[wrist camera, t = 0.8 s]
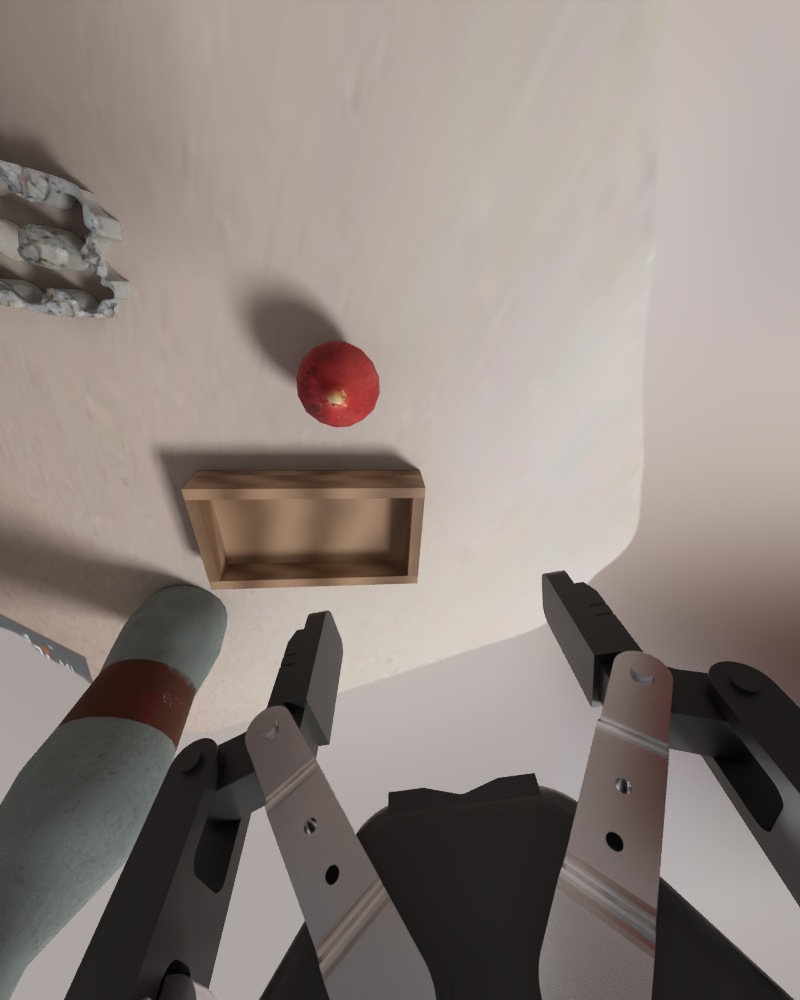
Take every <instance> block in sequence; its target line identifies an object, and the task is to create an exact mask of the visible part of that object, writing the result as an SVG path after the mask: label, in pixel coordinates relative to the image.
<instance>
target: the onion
mask: <svg viewBox="0 0 800 1000" xmlns="http://www.w3.org/2000/svg"><path fill="white" fill-rule="evenodd" d="M296 379H297V390H298V397H299V398H300V400H301V402H302V404H303V406H304V408H305V410H306V412H307V413H309V414H310V415H311V416H313V417H314V418H315V419H317V420H318V421H319V422H321V423H324V424H327V425H330V426H334V427H347V426H351V425H353V424H355V423H357V422H359V421H361V420H363V419H364V418H365V417H366V416H367V415H368V414H369V413H371V412H372V411H373V410H374V407H375V404H376V402H377V399H378V396H379V393H380V392H379V377H378V374H377V372H376V369H375V367H374V365H373V362H372V361H371V360H370V359H369V358H368V357H367V356H366V354H365V353H364V352H363V351H362V350H361V349H359V348H357V347H355V346H353V345H351V344H349V343H347V342H326V343H324V344H322V345H320V346H317V347H315V348H313V349H312V350H311V351H310V352H309V353H308V354H307V355H306V356H305V357H304V358H303V359H302V362H301V365H300V368H299V371H298V373H297V378H296Z"/></svg>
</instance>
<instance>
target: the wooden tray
mask: <svg viewBox="0 0 800 1000" xmlns="http://www.w3.org/2000/svg"><path fill="white" fill-rule="evenodd" d="M181 491H182V495H183V498H184V501H185V504H186V508H187V511H188V514H189V518H190V521H191V524H192V527H193V531H194V534H195V537H196V540H197V544H198V547H199V550H200V554H201V557H202V560H203V563H204V567H205V570H206V573H207V576H208V580H209V583H210V586H211V590H212V589H245V588H277V587H309V586H342V585H374V584H406V583H417V579H418V567H419V555H420V544H421V532H422V521H423V509H424V498H425V485H424V482H423V479H422V476H421V472H420V470H252V471H197V472H196V473H195V475H194V476H193V477H192V478H191V479H190V480H189V481H188V482H187V483H186V484H185V485H184V487H183V488H182V489H181Z"/></svg>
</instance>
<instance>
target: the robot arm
mask: <svg viewBox="0 0 800 1000" xmlns="http://www.w3.org/2000/svg"><path fill="white" fill-rule="evenodd" d="M542 594H543V609H544V613H545V617H546V619H547V622H548V624H549V626H550V628H551V630H552V632H553V633H554V636H555V637H556V639H557V641H558V643H559V645H560V647H561V649H562V651H563V653H564V655H565V657H566V659H567V661H568V663H569V664H570V666H571V669H572V670H573V672H574V674H575V676H576V678H577V680H578V682H579V684H580V686H581V688H582V690H583V692H584V694H585V696H586V698H587V700H588V701H589V703H590V705H591V707H598V706H603V709H602V713H601V717H600V719H598V722H597V726H596V729H595V733H594V737H593V742H592V746H591V750H590V754H589V758H588V763H587V767H586V771H585V775H584V779H583V784H582V788H581V792H580V797H579V800H578V802H577V801H576V800H574V799H572V798H571V797H569V796H567V795H565V794H563V793H561V792H559V791H557V790H554V789H551V788H548V787H544V786H538V783H537V780H536V777H535V774H534V773H532V774H525V775H517V776H509V777H502V778H497V779H495V780H493V781H490V782H488V783H486V784H484V785H482V786H480V787H478V788H476V789H474V790H471V791H469V792H467V793H465V794H455V793H449V792H444V791H438V790H432V789H427V788H419V789H412V790H404V791H397V792H389V803H388V806H386V807H384V808H383V809H381V810H380V811H378V812H377V813H375V814H374V815H373V816H372V817H370V819H368V820H367V822H366V823H364V825H363V826H362V827H361V828H360V829H359V831H358V832H357V833H356V832H355V830H354V829H353V826H352V825H351V823H350V821H349V819H348V817H347V816H346V814H345V812H344V810H343V808H342V806H341V805H340V803H339V801H338V799H337V797H336V795H335V794H334V792H333V790H332V788H331V786H330V784H329V783H328V781H327V779H326V777H325V775H324V773H323V772H322V770H321V768H320V766H319V764H318V762H317V760H316V755H317V750H318V746H321V745H329V743H330V736H331V729H332V723H333V716H334V710H335V703H336V696H337V690H338V683H339V676H340V670H341V663H342V656H343V646H342V640H341V637H340V635H339V632H338V630H337V627H336V624H335V622H334V619H333V617H332V614H331V612H330V611H324V612H318V613H312V614H309V615H308V618H307V621H306V624H305V628H304V629H302V630H297V631H296V632H295V634H294V635H293V636H292V638H291V639H290V640H289V642H288V644H287V647H286V651H285V654H284V657H283V660H282V663H281V668H280V669H279V672H278V675H277V678H276V681H275V684H274V687H273V690H272V693H271V697H270V700H269V703H268V706H267V708H266V709H265V710H264V711H262V712H261V713H260V714H258V715H257V716H256V717H255V718H254V720H253V721H252V722H251V724H250V725H249V727H248V729H247V731H246V732H245V733H243V734H241V735H239V736H237V737H235V738H233V739H231V740H229V741H227V742H224V743H222V744H220V745H217V744H216V743H215V742H214V741H213V740H212V739H209V738H204V739H199V740H197V741H195V742H193V743H191V744H190V745H188V746H187V747H186V748H184V749H183V750H182V751H181V752H180V753H179V754H178V755H177V757H176V758H175V759H174V761H173V762H172V764H171V766H170V767H169V770H168V772H167V774H166V776H165V778H164V781H163V783H162V785H161V787H160V789H159V792H158V794H157V796H156V798H155V800H154V803H153V805H152V807H151V809H150V811H149V814H148V816H147V818H146V820H145V822H144V825H143V827H142V829H141V831H140V833H139V836H138V838H137V840H136V842H135V845H134V847H133V849H132V851H131V853H130V856H129V858H128V860H127V862H126V864H125V867H124V869H123V871H122V873H121V875H120V878H119V880H118V882H117V884H116V887H115V889H114V891H113V893H112V895H111V897H110V900H109V902H108V904H107V906H106V908H105V911H104V913H103V915H102V917H101V920H100V922H99V924H98V926H97V928H96V931H95V933H94V935H93V937H92V940H91V942H90V944H89V946H88V948H87V950H86V953H85V955H84V957H83V959H82V962H81V964H80V966H79V968H78V970H77V972H76V975H75V977H74V979H73V981H72V983H71V986H70V988H69V990H68V993H67V994H66V997H65V999H64V1000H216V997H215V995H214V994H213V993H212V991H210V990H209V985H210V981H211V977H212V973H213V968H214V964H215V960H216V956H217V952H218V948H219V944H220V940H221V935H222V931H223V927H224V923H225V919H226V915H227V911H228V907H229V902H230V898H231V894H232V890H233V886H234V882H235V877H236V874H237V870H238V865H239V861H240V856H241V853H242V849H243V845H244V841H245V836H246V832H247V828H248V824H249V820H250V815H251V813H252V812H253V811H255V810H257V809H259V808H261V807H263V806H265V809H266V812H267V816H268V819H269V821H270V824H271V827H272V830H273V832H274V835H275V838H276V841H277V844H278V846H279V849H280V852H281V855H282V858H283V860H284V863H285V866H286V869H287V871H288V874H289V877H290V880H291V883H292V885H293V888H294V891H295V894H296V896H297V899H298V902H299V905H300V908H301V910H302V913H303V916H304V919H305V922H304V923H303V925H302V927H301V929H300V930H299V932H298V934H297V935H296V937H295V939H294V941H293V942H292V944H291V946H290V947H289V949H288V951H287V953H286V954H285V956H284V958H283V960H282V961H281V963H280V965H279V966H278V968H277V970H276V971H275V973H274V975H273V977H272V979H271V980H270V982H269V984H268V985H267V987H266V989H265V990H264V992H263V994H262V996H261V997H260V999H259V1000H794V999H793V998H792V997H791V996H790V995H789V994H787V993H786V992H785V991H784V990H783V989H782V988H781V987H780V986H779V985H778V984H777V983H776V982H774V981H773V980H772V979H771V978H770V977H769V976H768V975H767V974H766V973H765V972H763V970H761V969H760V968H759V967H758V966H757V965H756V964H755V963H754V962H753V961H752V960H751V959H749V958H748V957H747V956H746V955H745V954H744V953H743V952H742V951H741V950H740V949H739V948H738V947H736V946H735V945H734V944H733V943H732V942H731V941H730V940H729V939H728V938H726V936H724V935H723V934H722V933H721V932H720V931H719V930H718V929H717V928H716V927H715V926H714V925H713V924H711V923H710V922H709V921H708V920H707V919H706V918H705V917H704V916H703V915H702V914H700V913H699V912H698V911H697V910H696V909H695V908H694V907H693V906H692V905H691V904H690V903H689V902H687V901H686V900H685V899H684V898H683V897H682V896H681V895H680V894H679V893H678V892H677V891H676V890H674V889H673V888H672V887H671V886H670V885H669V884H668V883H667V882H666V881H664V880H663V878H661V877H660V865H661V852H662V839H663V827H664V814H665V801H666V789H667V777H668V764H669V749H675V750H679V751H685V752H690V753H696V754H700V755H701V756H702V757H703V759H704V760H705V762H706V763H707V765H708V766H709V768H710V769H711V770H712V773H713V774H714V776H715V777H716V779H717V780H718V782H719V783H720V785H721V786H722V788H723V789H724V791H725V793H726V794H727V796H728V797H729V799H730V800H731V802H732V803H733V805H734V806H735V808H736V810H737V811H738V813H739V814H740V816H741V817H742V819H743V820H744V822H745V823H746V825H747V826H748V828H749V830H750V831H751V833H752V834H753V836H754V837H755V839H756V840H757V842H758V843H759V845H760V846H761V848H762V850H763V851H764V853H765V854H766V856H767V857H768V859H769V860H770V862H771V863H772V865H773V866H774V868H775V870H776V871H777V872H778V874H779V876H780V877H781V879H782V880H783V882H784V883H785V885H786V886H787V888H788V890H789V891H790V892H791V894H792V896H793V897H794V899H795V900H796V902H797V903H798V905H799V907H800V708H799V707H798V706H797V705H796V704H795V703H794V702H793V701H792V700H791V699H790V698H789V697H788V696H787V695H786V694H785V693H784V692H783V691H782V690H781V689H780V687H778V685H777V684H776V683H774V681H772V680H771V679H770V678H769V677H768V676H766V675H765V674H763V673H762V672H760V671H759V670H757V669H754V668H753V667H750V666H748V665H745V664H741V663H736V662H729V661H727V662H719V663H716V664H714V665H713V666H711V668H710V669H709V672H708V673H701V672H693V671H686V670H678V669H673V668H670V667H667V666H666V665H665V664H664V663H663V662H661V661H660V660H659V659H657V658H656V657H654V656H652V655H649V654H647V653H644V652H643V651H642V650H641V649H640V647H639V646H638V645H637V643H636V642H635V641H634V639H633V638H632V637H631V635H630V634H629V633H628V631H627V630H626V629H625V628H624V626H623V625H622V624H621V622H620V621H619V620H618V618H617V617H616V616H615V614H613V612H612V611H611V609H610V608H609V606H608V605H606V603H605V601H604V600H603V599H602V597H601V596H600V595H599V593H598V592H597V591H596V590H595V589H593V588H591V587H590V586H588V585H587V584H585V583H584V582H581V583H575V584H574V583H573V581H572V580H571V578H570V577H569V576H568V574H567V573H566V572H565V571H557V572H551V573H546V574H543V575H542ZM668 748H669V749H668Z"/></svg>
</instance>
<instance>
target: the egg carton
mask: <svg viewBox="0 0 800 1000" xmlns="http://www.w3.org/2000/svg"><path fill="white" fill-rule="evenodd" d="M10 193H13V194H15V195H18V196H20V197H23V198H24V199H26V200H27V201H29V202H30V203H39V204H43V205H47V206H51V207H55V208H59V209H64V210H65V209H70V208H71V207H73V205H74V204H75V201H76V199H77V200H78V201H79V202H80V204H81V205H82V212H83V222H84V224H85V226H86V227H87V228H88V229H89V230H90V231H91V233H87V234H85V238H86V244H84V243H83V241H82V240H81V239H80V238H79V237H78V236H77V235H75V234H74V233H72V232H70V231H67V230H64V229H59V228H55V227H50V226H46V225H41V224H36V225H34V224H28V223H27V224H26V225H25V226H24V227H23V228H20V227H19V226H18V225H16V224H15V223H13V222H11V221H9V220H6V219H3V218H0V252H1V253H2V254H4V255H5V256H6V257H8V258H10V259H12V260H15V261H21V262H22V261H27V262H28V263H30V264H33V265H39V266H44V267H46V268H48V269H51V270H55V271H75V272H81V271H84V270H86V269H87V268H88V267H89V265H90V266H91V271H92V272H93V273H94V274H96V275H98V276H100V277H101V282H100V283H101V284H102V285H103V286H105V287H108V288H111V289H112V291H113V293H114V298H113V299H106V300H103V301H101V303H100V304H99V303H98V302H97V301H96V299H95V298H94V297H93V296H91V295H90V294H89V293H87V292H85V291H82V290H77V289H54V288H47V293H45V294H44V293H43V292H42V291H41V290H40V289H39V288H38V287H36V286H35V285H34V284H32V283H30V282H28V281H25V280H12V279H0V304H2V305H6V306H10V307H14V308H20V309H27V310H31V311H35V312H40V313H45V314H50V315H54V316H66V317H99V318H109V317H117V316H116V315H115V314H114V312H118V308H119V304H120V303H121V302H122V301H123V300H125V299H129V298H132V297H133V296H132V289H131V283H130V282H129V281H127V280H125V279H123V278H121V277H120V276H118V275H117V274H116V273H115V272H114V271H113V269H112V268H111V266H110V264H109V262H108V259H107V251H108V249H109V247H110V245H111V244H113V243H114V242H116V241H121V240H122V233H121V226H120V223H119V221H117V220H115V219H113V218H111V217H110V216H108V215H107V214H106V213H105V212H104V211H103V210H102V208H101V207H100V205H99V203H98V201H97V199H96V196H95V194H93V193H91V192H88V191H85V190H83V189H80V188H79V187H78V186H76V185H75V184H73V183H71V182H69V181H67V180H65V179H62V178H59V177H57V176H54V175H51V174H47V173H44V172H41V171H37V170H34V169H30V168H27V167H24V166H20V165H17V164H13V163H9V162H5V161H2V160H0V197H3V196H8V195H9V194H10Z"/></svg>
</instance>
